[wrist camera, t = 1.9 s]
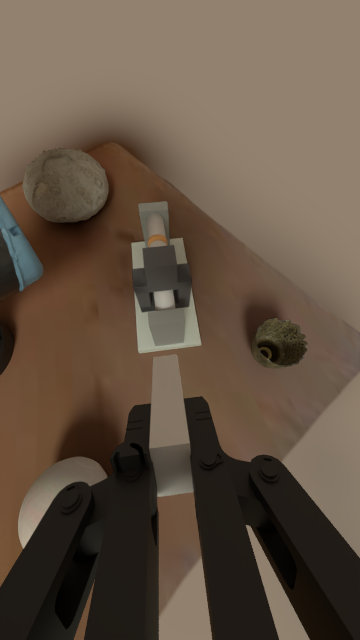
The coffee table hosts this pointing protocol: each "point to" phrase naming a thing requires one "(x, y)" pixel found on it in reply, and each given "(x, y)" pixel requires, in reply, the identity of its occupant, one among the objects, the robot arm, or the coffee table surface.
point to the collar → (161, 278)
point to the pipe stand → (166, 321)
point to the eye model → (54, 490)
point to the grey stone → (65, 185)
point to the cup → (278, 344)
